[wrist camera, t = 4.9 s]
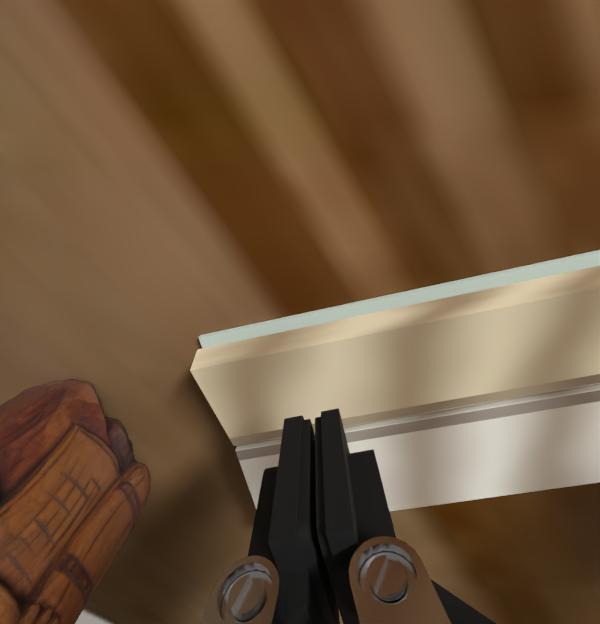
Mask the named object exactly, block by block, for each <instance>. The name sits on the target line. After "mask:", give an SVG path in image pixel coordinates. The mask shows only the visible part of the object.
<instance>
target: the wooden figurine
mask: <svg viewBox="0 0 600 624" xmlns="http://www.w3.org/2000/svg"><path fill="white" fill-rule="evenodd" d="M149 491H150V475H149V471H148V469H147V467H146V466H145V465H144V464H141V463H137V461H136V460H135V458H134V456H133V450H132V444H131V442H130V440H128V436H127V433H126V430H125V428H124V426H123V425H122V424H121V422H120V421H119V420H117V419H113V418H108V417H105V416H104V415H103V412H102V409H101V406H100V401H99V399H98V397H97V395H96V393H95V390H94V387H93V385H92V384H91V383H88V382H85V381H78V380H74V379H70V380H64V381H55V382H50V383H47V384H44V385H42V386H37V387H33V388H30V389H27V390H25V391H23V392H22V393H20V394H19V395H17V396H16V397H14V398H13V399H11V400H9V401H7V402H6V403H4V404H3V405H1V406H0V624H75V622H76V620H77V619H78V617H79V615H80V614H81V612H82V610H83V609H84V607H85V605H86V604H87V602H88V600H89V599H90V597H91V596H92V594H93V593H94V591H95V590H96V588H97V586H98V585H99V583H100V581H101V580H102V578H103V577H104V575H105V573H106V572H107V570H108V568H109V567H110V565H111V563H112V562H113V560H114V558H115V557H116V555H117V554H118V552H119V550H120V548H121V547H122V545H123V544H124V542H125V540H126V539H127V537H128V535H129V533H130V531H131V530H132V528H133V527H134V525H135V522H136V521H137V519H138V517H139V515H140V513H141V511H142V509H143V507H144V505H145V503H146V500H147V497H148V494H149Z"/></svg>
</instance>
